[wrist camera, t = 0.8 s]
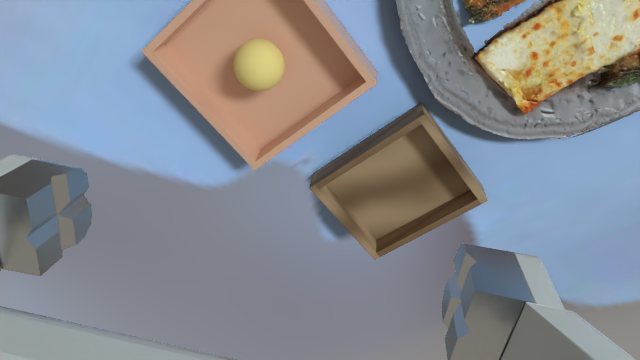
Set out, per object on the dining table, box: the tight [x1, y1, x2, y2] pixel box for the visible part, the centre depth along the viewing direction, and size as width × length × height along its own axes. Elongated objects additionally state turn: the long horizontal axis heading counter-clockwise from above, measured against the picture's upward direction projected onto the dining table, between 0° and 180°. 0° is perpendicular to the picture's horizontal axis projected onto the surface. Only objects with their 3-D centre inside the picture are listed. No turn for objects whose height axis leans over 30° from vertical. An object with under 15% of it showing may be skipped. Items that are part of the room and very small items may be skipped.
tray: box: [310, 103, 488, 259], centre depth 41 cm, size 10×12×3 cm
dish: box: [141, 0, 378, 170], centre depth 37 cm, size 13×13×3 cm
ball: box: [233, 39, 285, 91], centre depth 36 cm, size 4×4×4 cm
